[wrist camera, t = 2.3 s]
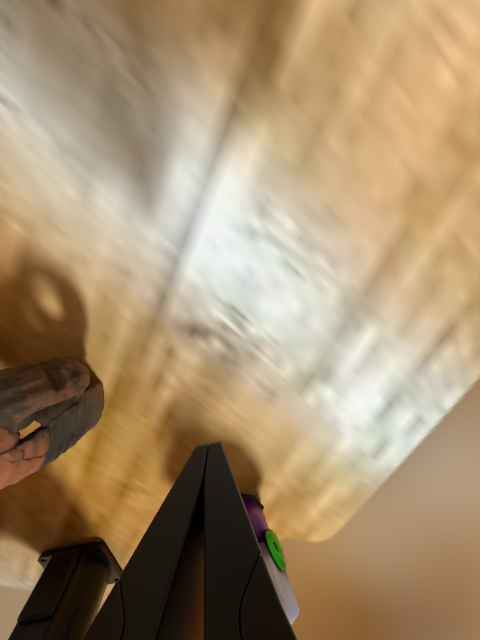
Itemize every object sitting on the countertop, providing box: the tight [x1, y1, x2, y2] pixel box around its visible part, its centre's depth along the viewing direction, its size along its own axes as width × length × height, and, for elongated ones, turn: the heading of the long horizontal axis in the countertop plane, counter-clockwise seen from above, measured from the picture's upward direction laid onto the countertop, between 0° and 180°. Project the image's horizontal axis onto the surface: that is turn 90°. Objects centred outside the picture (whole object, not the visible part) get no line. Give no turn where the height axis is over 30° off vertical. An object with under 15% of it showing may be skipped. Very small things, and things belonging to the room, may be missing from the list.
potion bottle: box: [241, 494, 300, 625], centre depth 17 cm, size 9×9×12 cm
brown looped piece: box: [0, 356, 104, 490], centre depth 14 cm, size 12×10×8 cm
